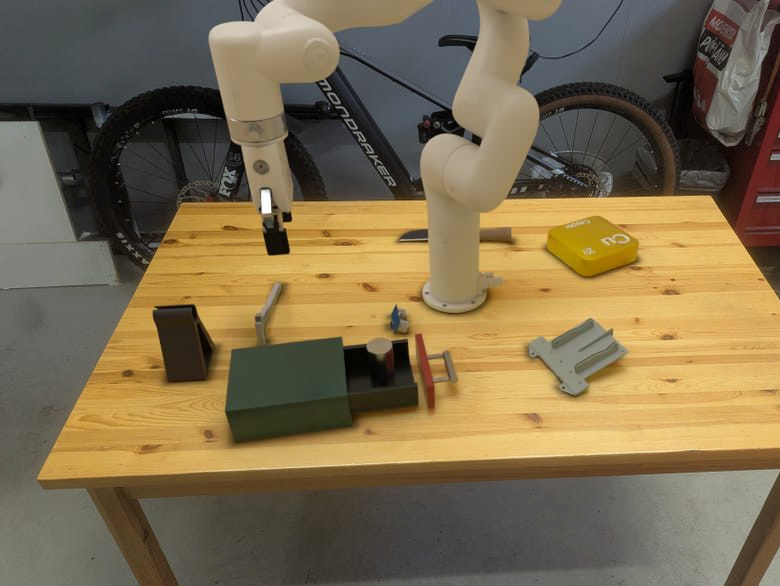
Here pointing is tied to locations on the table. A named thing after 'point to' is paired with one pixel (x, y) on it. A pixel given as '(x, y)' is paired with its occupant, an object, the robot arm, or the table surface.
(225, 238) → the table surface
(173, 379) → the phone stand
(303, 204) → the table surface
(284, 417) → the cabinet
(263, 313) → the grey bent bar
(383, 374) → the tin
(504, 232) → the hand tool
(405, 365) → the drawer
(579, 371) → the metal bracket
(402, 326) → the ultrasonic sensor
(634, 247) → the element tile
